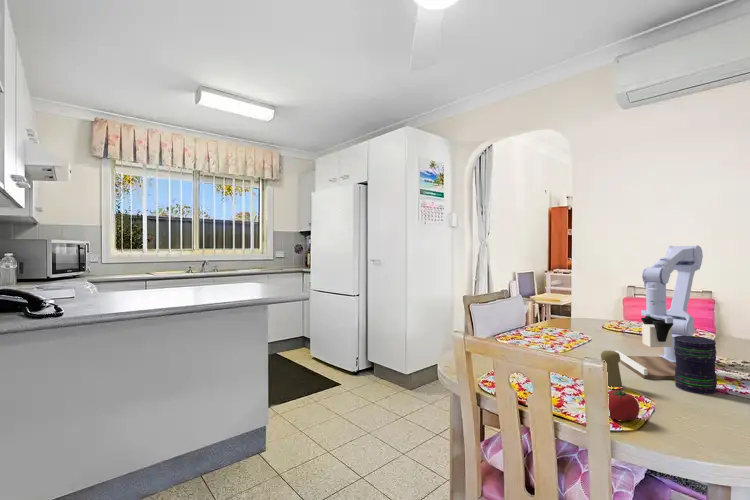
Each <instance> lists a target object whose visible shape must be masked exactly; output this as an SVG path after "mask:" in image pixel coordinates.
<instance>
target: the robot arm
mask: <svg viewBox="0 0 750 500" xmlns="http://www.w3.org/2000/svg"><path fill="white" fill-rule="evenodd" d="M665 255H666V256H665V257H660V258H659V259H658V260H656V262H655V263H654V264H653V265H652V266H646V268H644V269H643V270H642V275H641V278H642V282H643V286H644V289H645V304H646V305H645V306H646V307H645V308H646V309H641V310H640V311H641V316H642V317H641V318H640V319H641V322H642V323H643V324H654V326H655V329H656V333H657V339H658V341H659V342H666V338H667V335H668V332H669V330H670V328H671V327H672V347H663V349H664V350H663V351H664V353H663V354H662V355H660V354H659V355H658V357H663V358H665V359H667V360H669V361H671V362H673V363H675V364H676V356H675V353H674V352H675V350H674V342H675V340H674V337H676V336H694V333H695V319H694V317H693V316H692V315H691V314H690V313H689V312H687V311H688V306H689V301H690V297H691V291H692V287H693V280H694V276H695V273H696V272H697V271H698V270H700V269H701V266H702V263H703V257H704V255H703V249H702V247H701V246H700V245H670V246H668V248H666V253H665ZM674 271H677V274H676V275H677V276H676V280H675V284H674V289H673V294H672V300H671V305H670V308H669V309H667V284H668V283H669V281H670V278H671V274H672V273H673V272H674Z"/></svg>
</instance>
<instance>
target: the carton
mask: <svg viewBox="0 0 750 500" xmlns="http://www.w3.org/2000/svg"><path fill="white" fill-rule="evenodd" d="M641 326H642V327H641V328H642V329H641V330H642V334H641V336H642V337H641V338H642V344H643V345H645V346H646V347H649V348H664V347H672V327H671V328H670V330H669V332H668V335H667V338H666V342H659V341H658V339H657V333H656V329H655V326H654V324H644V323H643V324H641Z"/></svg>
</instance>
